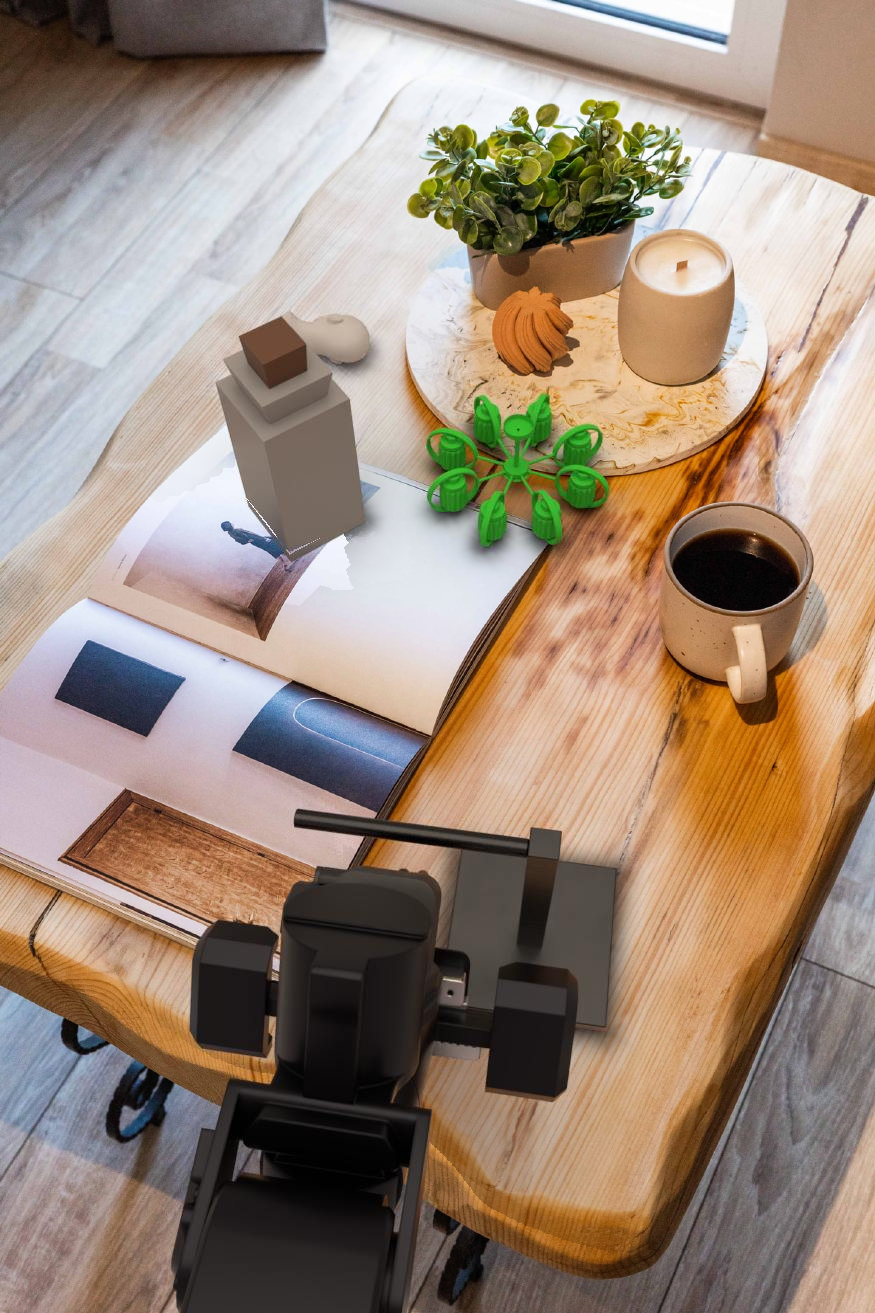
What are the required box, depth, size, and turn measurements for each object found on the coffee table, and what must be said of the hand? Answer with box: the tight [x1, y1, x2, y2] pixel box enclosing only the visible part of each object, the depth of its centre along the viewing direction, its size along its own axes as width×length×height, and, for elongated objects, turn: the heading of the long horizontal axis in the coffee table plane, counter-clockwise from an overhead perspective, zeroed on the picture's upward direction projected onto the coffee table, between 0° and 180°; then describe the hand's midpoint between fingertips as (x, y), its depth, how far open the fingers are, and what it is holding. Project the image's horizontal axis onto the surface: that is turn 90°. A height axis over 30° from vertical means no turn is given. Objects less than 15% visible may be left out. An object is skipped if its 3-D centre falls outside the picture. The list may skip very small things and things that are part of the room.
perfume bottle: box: [215, 315, 366, 563], centre depth 80 cm, size 7×7×18 cm
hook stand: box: [293, 808, 618, 1033], centre depth 63 cm, size 10×18×16 cm, turn 82°
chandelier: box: [425, 392, 610, 548], centre depth 86 cm, size 15×15×7 cm
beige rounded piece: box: [281, 311, 371, 365], centre depth 96 cm, size 4×8×5 cm
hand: (407, 931), depth 63 cm, fingers closed
